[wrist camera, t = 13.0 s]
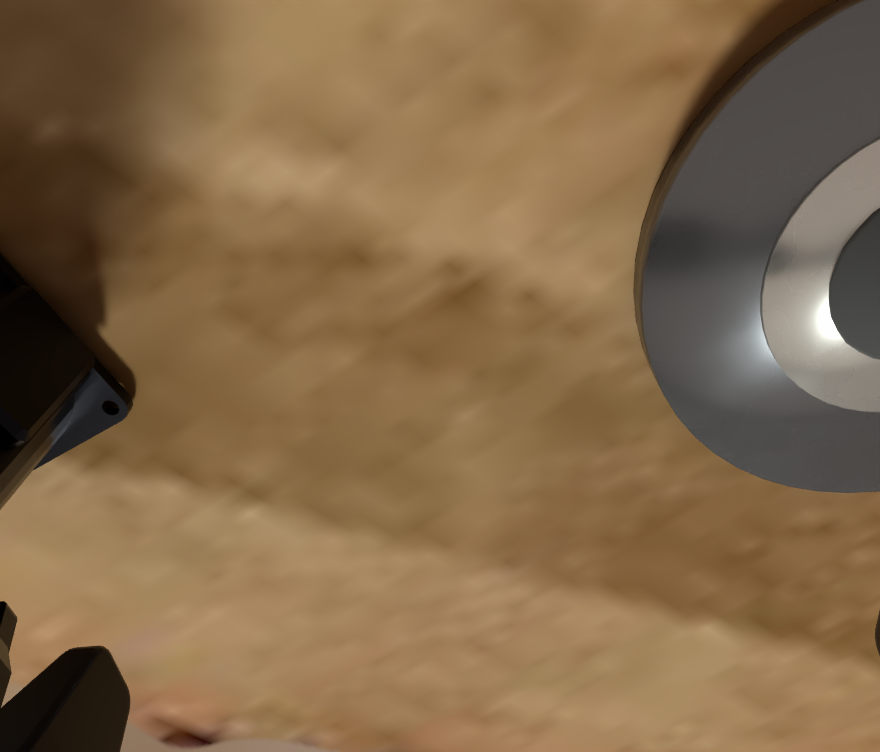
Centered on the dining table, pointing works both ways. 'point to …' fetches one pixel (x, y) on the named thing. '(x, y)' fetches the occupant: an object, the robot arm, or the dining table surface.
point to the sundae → (858, 289)
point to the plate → (771, 259)
